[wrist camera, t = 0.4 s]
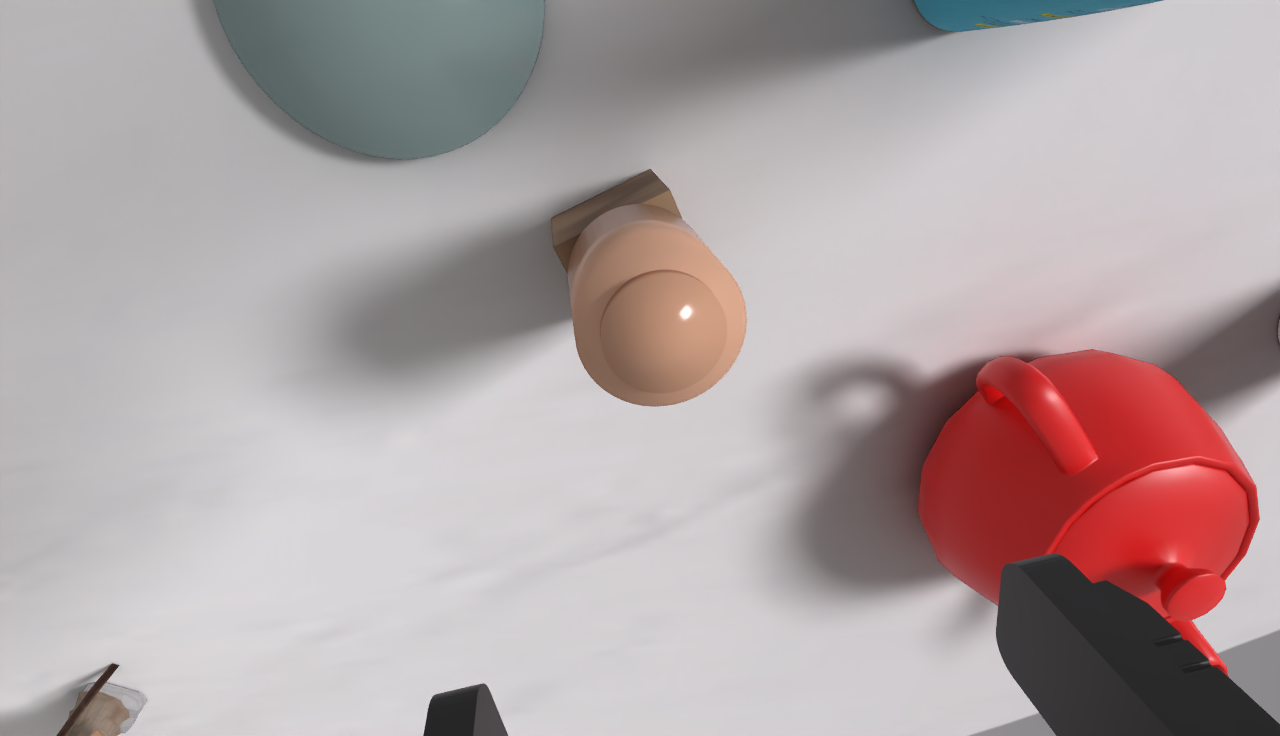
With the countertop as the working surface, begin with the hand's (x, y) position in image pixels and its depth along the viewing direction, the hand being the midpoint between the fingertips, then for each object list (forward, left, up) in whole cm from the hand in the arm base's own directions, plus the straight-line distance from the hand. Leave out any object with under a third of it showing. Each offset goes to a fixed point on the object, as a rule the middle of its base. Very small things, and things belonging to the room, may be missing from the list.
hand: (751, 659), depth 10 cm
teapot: (-17, +23, -24) cm, 37 cm away
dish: (+3, -13, -24) cm, 27 cm away
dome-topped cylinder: (-1, 0, -19) cm, 19 cm away
